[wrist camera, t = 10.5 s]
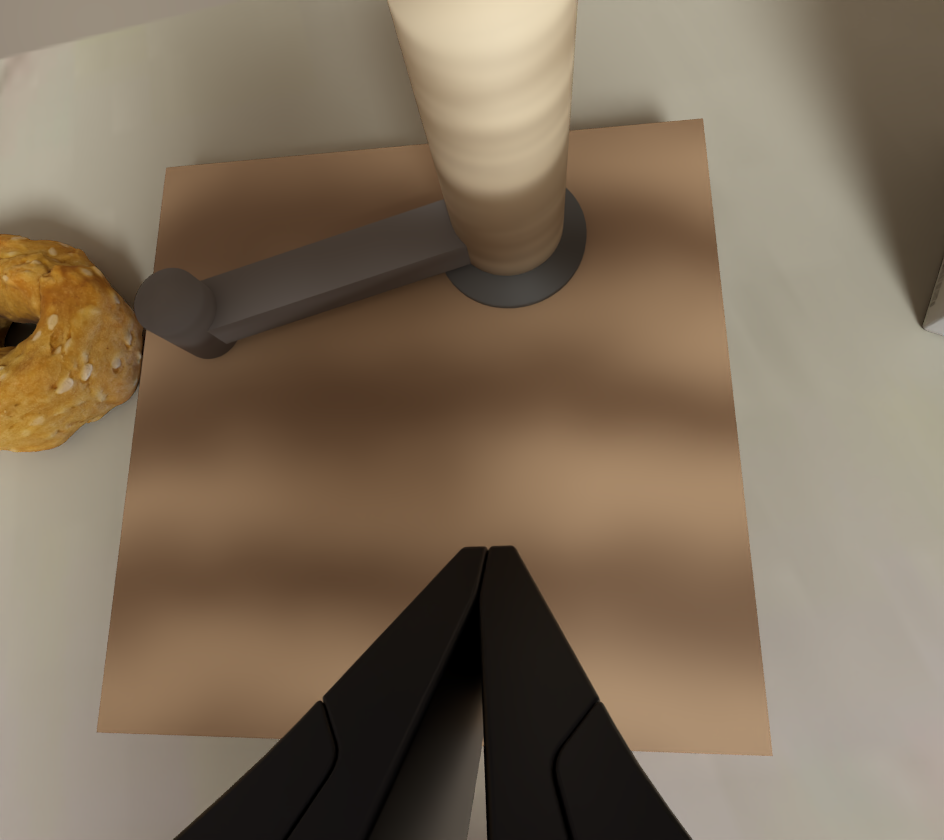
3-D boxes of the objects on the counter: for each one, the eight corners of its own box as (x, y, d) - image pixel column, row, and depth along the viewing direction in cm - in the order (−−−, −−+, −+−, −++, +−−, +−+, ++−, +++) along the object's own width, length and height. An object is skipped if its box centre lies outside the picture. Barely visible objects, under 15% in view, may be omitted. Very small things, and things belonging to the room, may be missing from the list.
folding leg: (577, 260, 21) (610, -10, 11) (191, 385, 21) (-121, 246, 11) (543, 170, 22) (544, -159, 11) (175, 293, 22) (-126, 88, 12)
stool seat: (738, 724, 20) (776, 759, 17) (154, 707, 22) (89, 735, 19) (683, 169, 24) (704, 112, 21) (206, 208, 27) (161, 163, 24)
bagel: (112, 485, 25) (13, 472, 20) (-86, 428, 27) (-218, 403, 22) (189, 280, 27) (116, 225, 22) (-1, 239, 28) (-107, 181, 24)
